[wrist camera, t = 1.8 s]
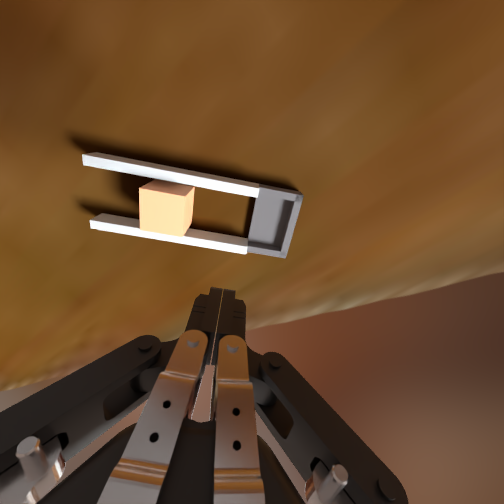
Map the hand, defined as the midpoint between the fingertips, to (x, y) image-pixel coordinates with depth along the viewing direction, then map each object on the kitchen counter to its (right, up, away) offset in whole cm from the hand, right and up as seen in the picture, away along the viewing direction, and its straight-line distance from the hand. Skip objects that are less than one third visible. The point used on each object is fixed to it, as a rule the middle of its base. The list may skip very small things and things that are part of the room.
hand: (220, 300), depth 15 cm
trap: (+4, +7, +15) cm, 17 cm away
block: (-7, +9, +14) cm, 18 cm away
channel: (-7, +9, +14) cm, 18 cm away
